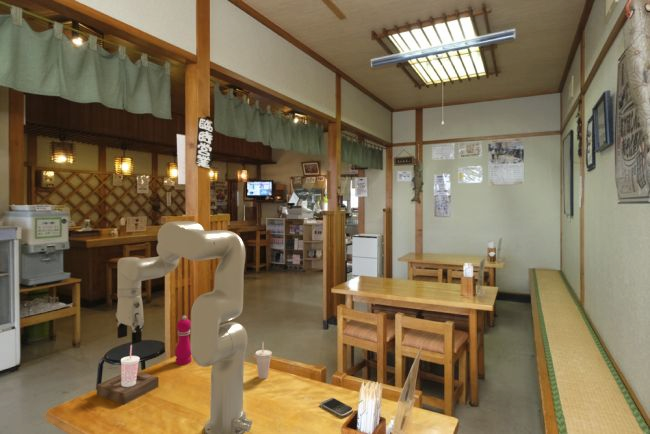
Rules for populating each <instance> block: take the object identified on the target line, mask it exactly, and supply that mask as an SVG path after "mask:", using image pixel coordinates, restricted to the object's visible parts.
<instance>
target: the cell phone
mask: <svg viewBox="0 0 650 434" xmlns="http://www.w3.org/2000/svg"><path fill="white" fill-rule="evenodd" d="M319 407H321V408H323V409H325V410H327V411H328V412H329V413H332V414H334V415H336V416H337V417H338V418H339V417H340V418H345V417H347V416H349V415H351V414H352V413H353V412H354V408H353V407H352V406H351V405H348V404H346V403H344V402H342V401H341V400H338V399H337V398H335V397H330V398H328V399H326V400H324V401H322V402H320V403H319ZM350 413H351V414H350Z"/></svg>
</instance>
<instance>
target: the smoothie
mask: <svg viewBox="0 0 650 434" xmlns="http://www.w3.org/2000/svg"><path fill="white" fill-rule="evenodd" d="M264 343H265V342H264V341H262V344H261V345H262V347H261V349H259V350H256V352H255V355H254V356H255V359H256V367H257V377H259V378H258V379H260V380H265V378H266V379H268V378H269V371H270V364H271V357H272V353H273V352H272V351H271V350H268V349H265V348H264V347H265V344H264Z"/></svg>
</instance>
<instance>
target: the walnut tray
mask: <svg viewBox="0 0 650 434" xmlns="http://www.w3.org/2000/svg"><path fill="white" fill-rule="evenodd" d="M159 380H160V379H159V376H156V375H152V374H147V373H145V372H141V371H139V370H137V378H136V384H135V385H133V386H129V387H124V386H122V385H121V374H119V375H116V376H114V377H112V378H110V379H107V380H105V381H103V382H99V383H98V384H96V396H97V397H100V398H104V399H107V400H110V401H114V402H117V403H119V404H122V405H126V404H129V403H131V402H132V401H135V400H136V399H138V398H140V397H142V396H144V395H145V394H147V393H150V392H151V391H154V390H156V389H157V388H159V383H160V382H159Z"/></svg>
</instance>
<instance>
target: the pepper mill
mask: <svg viewBox="0 0 650 434" xmlns="http://www.w3.org/2000/svg"><path fill="white" fill-rule="evenodd" d="M176 329H177V336H178V342H177V345H176V346H175V348H174V349H175V350H174V356H175V357H176V358H175V364H176V365H179V366H181V365H182V366H183V365H184V366H185V365H188V364H190V363H192V354H191V341H190V335H191V319H188V318H187V316H186V315H182V317H181V319H179V320H178V321H177V322H176Z"/></svg>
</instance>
